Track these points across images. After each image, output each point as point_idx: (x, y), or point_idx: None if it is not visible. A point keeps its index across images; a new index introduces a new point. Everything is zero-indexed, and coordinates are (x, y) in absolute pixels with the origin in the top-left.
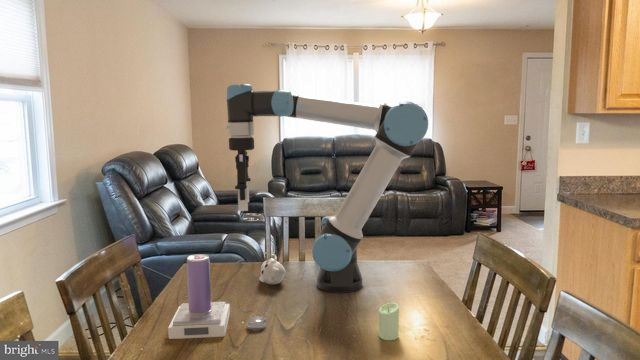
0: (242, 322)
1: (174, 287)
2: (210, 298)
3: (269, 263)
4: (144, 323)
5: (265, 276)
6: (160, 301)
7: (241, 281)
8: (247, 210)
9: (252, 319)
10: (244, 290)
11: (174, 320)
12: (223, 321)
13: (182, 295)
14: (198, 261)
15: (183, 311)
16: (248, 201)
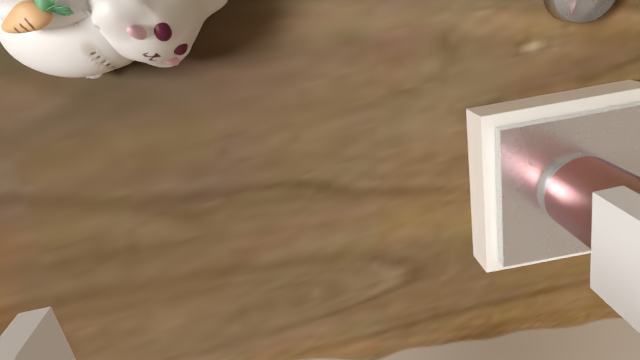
0: (536, 47)
1: (242, 356)
2: (617, 168)
3: (154, 15)
4: (515, 323)
5: (199, 30)
6: (363, 348)
7: (142, 150)
8: (627, 190)
9: (579, 4)
10: (243, 112)
11: None
12: (626, 96)
13: (311, 307)
14: None
15: (570, 239)
16: (49, 322)
